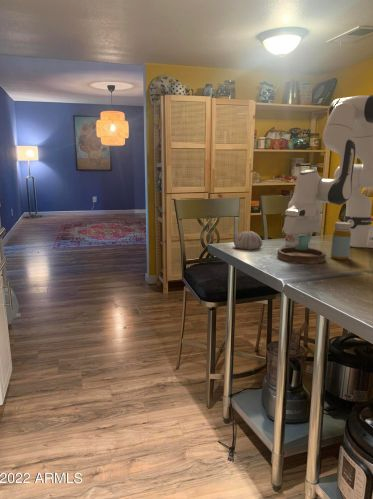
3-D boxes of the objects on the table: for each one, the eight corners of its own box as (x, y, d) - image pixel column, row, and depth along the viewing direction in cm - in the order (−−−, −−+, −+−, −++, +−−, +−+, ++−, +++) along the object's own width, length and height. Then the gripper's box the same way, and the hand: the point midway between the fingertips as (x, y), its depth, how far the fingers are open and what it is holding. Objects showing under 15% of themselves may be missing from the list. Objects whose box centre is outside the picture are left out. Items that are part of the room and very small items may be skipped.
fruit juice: (292, 248, 179) (296, 187, 173) (281, 244, 188) (285, 186, 182) (309, 246, 182) (314, 187, 176) (297, 243, 191) (301, 186, 185)
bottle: (347, 260, 156) (351, 224, 153) (329, 258, 160) (332, 223, 156) (349, 257, 162) (353, 222, 159) (331, 255, 166) (335, 221, 162)
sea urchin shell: (264, 251, 172) (265, 233, 170) (234, 250, 173) (234, 233, 171) (260, 245, 185) (261, 228, 183) (232, 244, 186) (233, 228, 184)
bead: (300, 246, 162) (301, 234, 161) (310, 249, 158) (311, 236, 157) (292, 248, 159) (293, 235, 158) (302, 250, 155) (303, 237, 154)
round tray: (296, 251, 173) (297, 245, 172) (334, 259, 158) (334, 253, 157) (268, 256, 162) (268, 250, 161) (305, 266, 147) (306, 259, 146)
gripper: (313, 208, 164) (310, 240, 167) (282, 210, 152) (279, 244, 155) (326, 209, 159) (323, 242, 162) (295, 212, 147) (292, 247, 150)
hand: (301, 243), depth 158 cm, fingers closed on bead, 5 cm apart
